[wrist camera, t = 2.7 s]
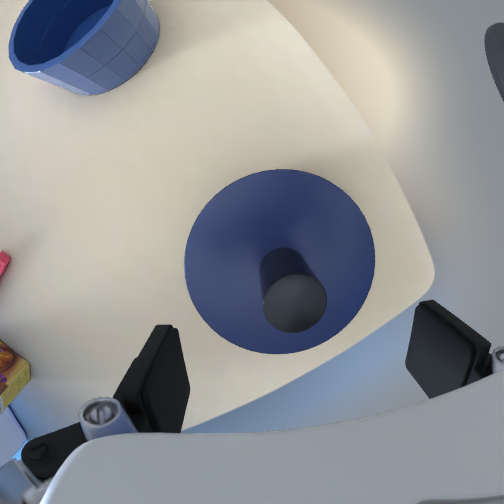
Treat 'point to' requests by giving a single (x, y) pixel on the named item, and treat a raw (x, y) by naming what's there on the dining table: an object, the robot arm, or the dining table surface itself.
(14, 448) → the plastic bottle
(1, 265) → the red slotted bar
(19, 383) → the candy box
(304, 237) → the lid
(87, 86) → the pot
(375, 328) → the dining table surface
